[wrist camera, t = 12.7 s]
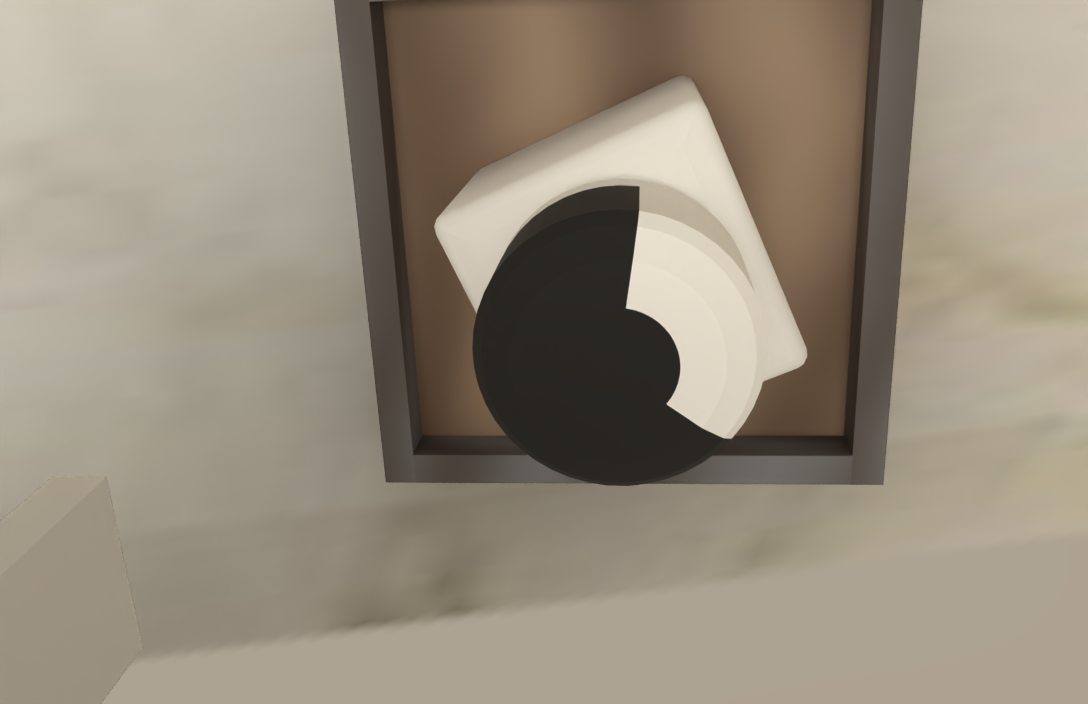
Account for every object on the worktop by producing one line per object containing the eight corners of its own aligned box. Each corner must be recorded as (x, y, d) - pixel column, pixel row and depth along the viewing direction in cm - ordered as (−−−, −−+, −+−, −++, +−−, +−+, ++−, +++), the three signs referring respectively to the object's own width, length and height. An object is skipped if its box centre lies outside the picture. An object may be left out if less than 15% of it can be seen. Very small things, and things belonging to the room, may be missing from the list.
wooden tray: (402, 449, 36) (386, 482, 33) (354, -34, 30) (330, -35, 28) (866, 450, 34) (883, 484, 32) (904, -61, 28) (928, -65, 26)
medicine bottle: (570, 370, 33) (533, 570, 22) (472, 171, 31) (376, 279, 20) (777, 284, 31) (853, 454, 20) (688, 69, 29) (717, 124, 18)
